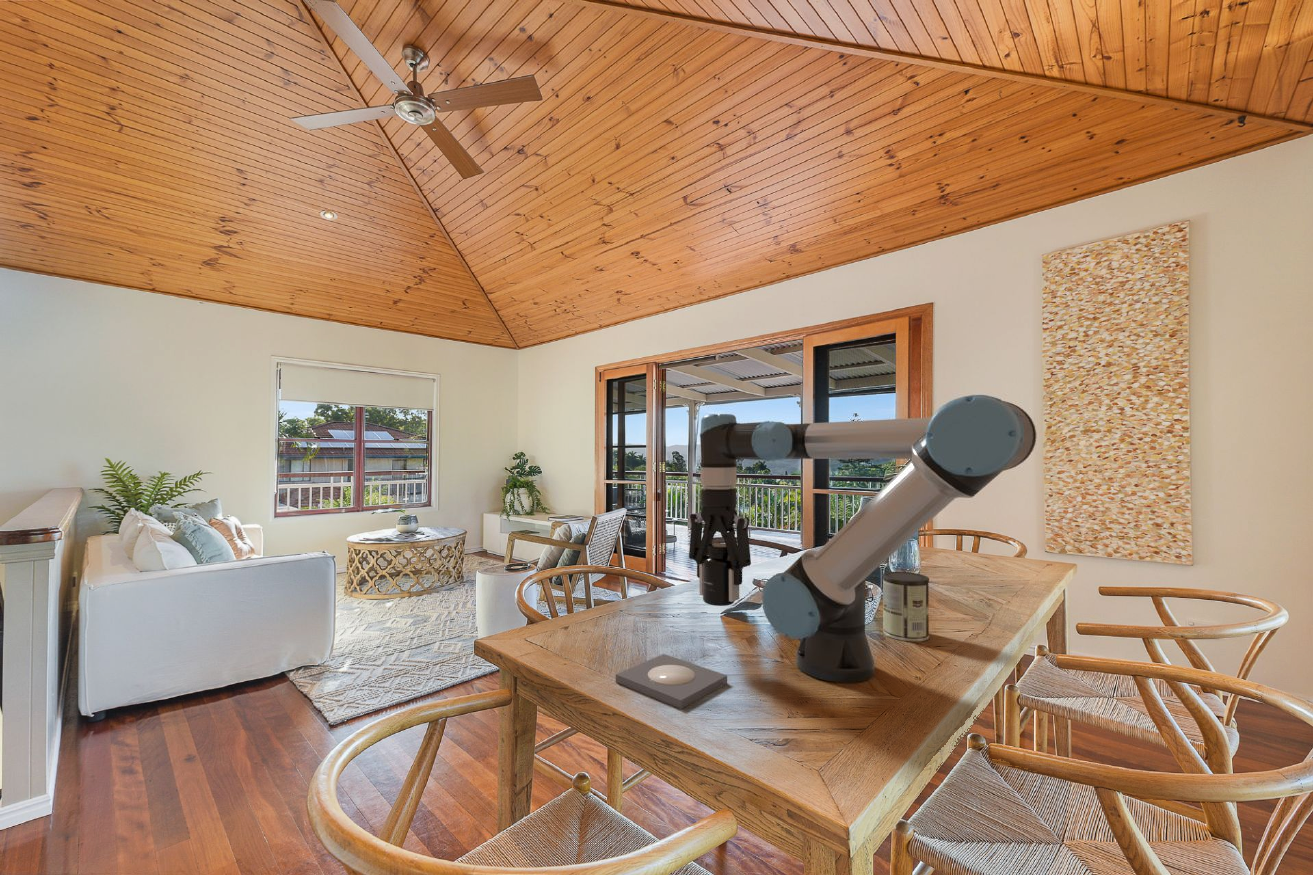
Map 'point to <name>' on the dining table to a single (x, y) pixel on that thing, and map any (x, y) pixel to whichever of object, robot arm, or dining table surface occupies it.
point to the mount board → (671, 680)
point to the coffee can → (906, 606)
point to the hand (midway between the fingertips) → (719, 596)
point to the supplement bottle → (716, 575)
